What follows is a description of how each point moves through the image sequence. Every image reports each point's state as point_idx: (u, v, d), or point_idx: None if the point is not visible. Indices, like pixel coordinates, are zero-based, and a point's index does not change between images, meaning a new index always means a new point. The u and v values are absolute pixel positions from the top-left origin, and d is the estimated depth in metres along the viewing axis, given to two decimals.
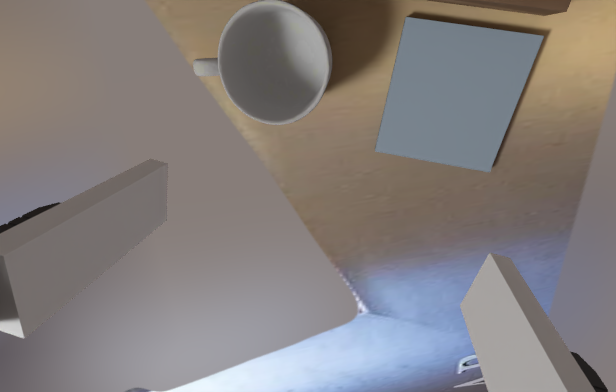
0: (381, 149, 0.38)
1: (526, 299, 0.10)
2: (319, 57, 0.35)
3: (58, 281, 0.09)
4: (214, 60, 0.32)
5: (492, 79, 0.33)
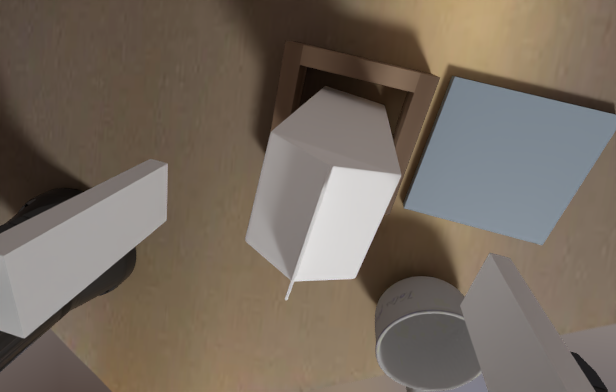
0: (542, 238, 0.32)
1: (526, 299, 0.10)
2: None
3: (58, 281, 0.09)
4: (413, 387, 0.35)
5: (490, 125, 0.29)
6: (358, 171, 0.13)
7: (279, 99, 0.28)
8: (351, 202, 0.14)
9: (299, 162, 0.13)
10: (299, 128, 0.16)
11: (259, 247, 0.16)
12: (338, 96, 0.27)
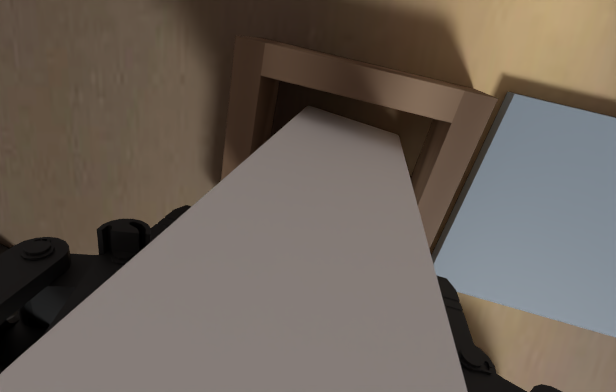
0: None
1: None
2: None
3: None
4: None
5: (567, 170, 0.18)
6: None
7: (231, 129, 0.18)
8: None
9: None
10: (165, 295, 0.05)
11: None
12: (325, 126, 0.17)
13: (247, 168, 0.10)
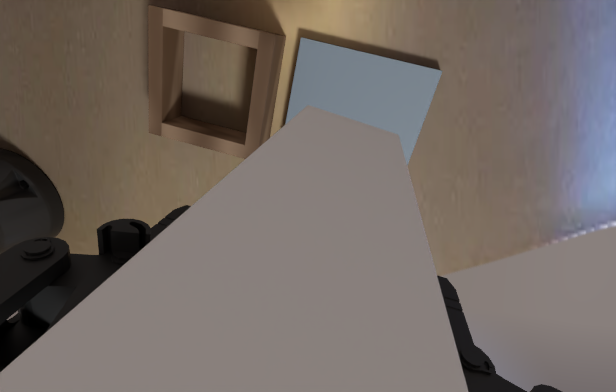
0: None
1: None
2: None
3: None
4: None
5: (336, 81, 0.33)
6: None
7: (151, 57, 0.33)
8: None
9: None
10: (164, 295, 0.05)
11: None
12: (325, 126, 0.17)
13: (247, 168, 0.10)
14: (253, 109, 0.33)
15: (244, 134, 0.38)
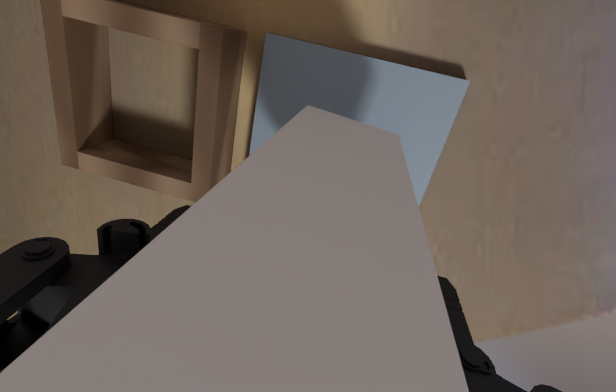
0: None
1: None
2: None
3: None
4: None
5: (317, 94, 0.23)
6: None
7: (52, 61, 0.23)
8: None
9: None
10: (164, 296, 0.05)
11: None
12: (325, 126, 0.17)
13: (247, 168, 0.10)
14: (199, 135, 0.23)
15: None
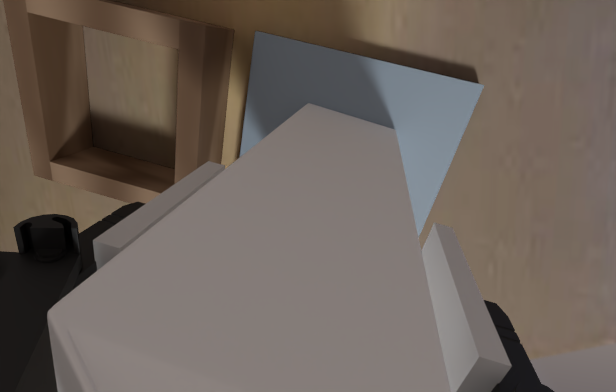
0: None
1: (456, 258, 0.11)
2: None
3: None
4: None
5: (313, 99, 0.21)
6: None
7: (18, 63, 0.21)
8: None
9: None
10: (179, 256, 0.06)
11: None
12: (324, 122, 0.18)
13: (249, 158, 0.11)
14: (181, 145, 0.21)
15: None
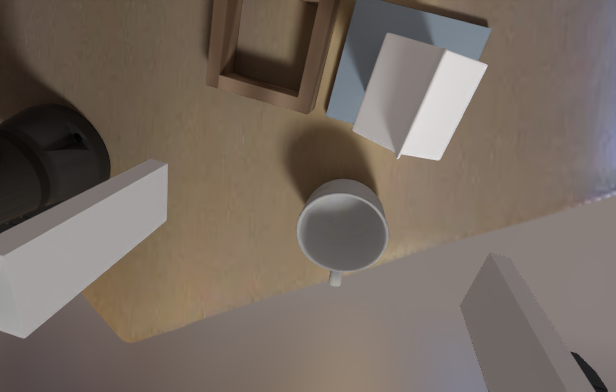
0: None
1: (526, 299, 0.10)
2: None
3: (58, 281, 0.09)
4: (331, 271, 0.42)
5: None
6: (459, 56, 0.17)
7: (215, 10, 0.35)
8: (449, 84, 0.18)
9: (412, 51, 0.18)
10: None
11: (366, 132, 0.21)
12: None
13: None
14: (309, 62, 0.35)
15: (294, 91, 0.40)
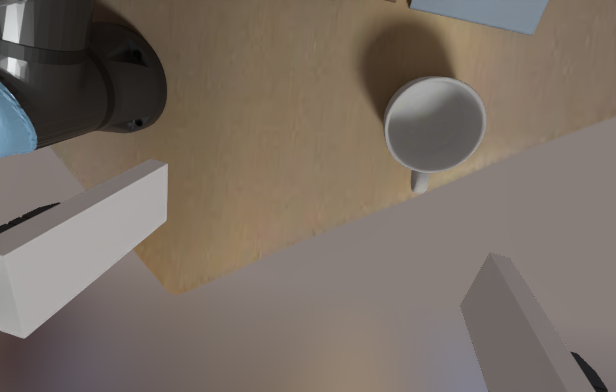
0: (532, 27, 0.37)
1: (526, 299, 0.10)
2: (426, 88, 0.41)
3: (58, 281, 0.09)
4: (417, 174, 0.40)
5: None
6: None
7: None
8: None
9: None
10: None
11: None
12: None
13: None
14: None
15: None
